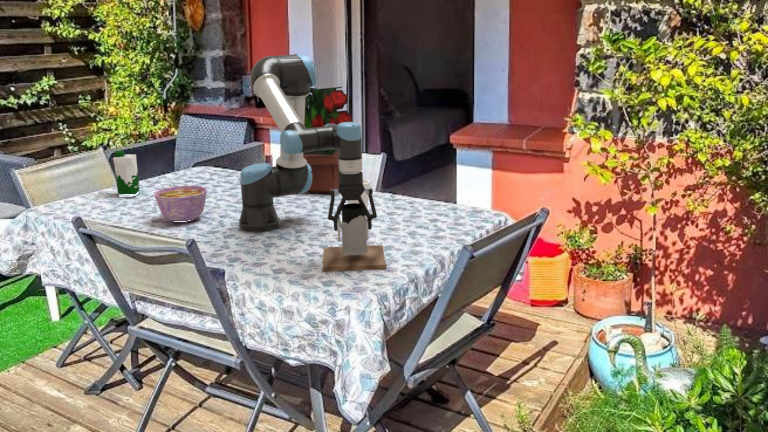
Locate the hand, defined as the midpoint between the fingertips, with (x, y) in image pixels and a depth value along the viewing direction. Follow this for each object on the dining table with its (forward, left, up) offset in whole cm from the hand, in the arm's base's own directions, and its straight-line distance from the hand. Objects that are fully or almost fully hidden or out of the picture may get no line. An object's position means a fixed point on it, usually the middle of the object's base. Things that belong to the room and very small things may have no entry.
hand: (353, 239), depth 254 cm
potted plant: (-12, +96, -7) cm, 97 cm away
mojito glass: (-98, +99, -7) cm, 139 cm away
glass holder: (-1, 0, -3) cm, 4 cm away
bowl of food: (-66, +56, -7) cm, 87 cm away
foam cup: (+3, +56, -7) cm, 57 cm away
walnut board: (0, 0, -7) cm, 7 cm away
